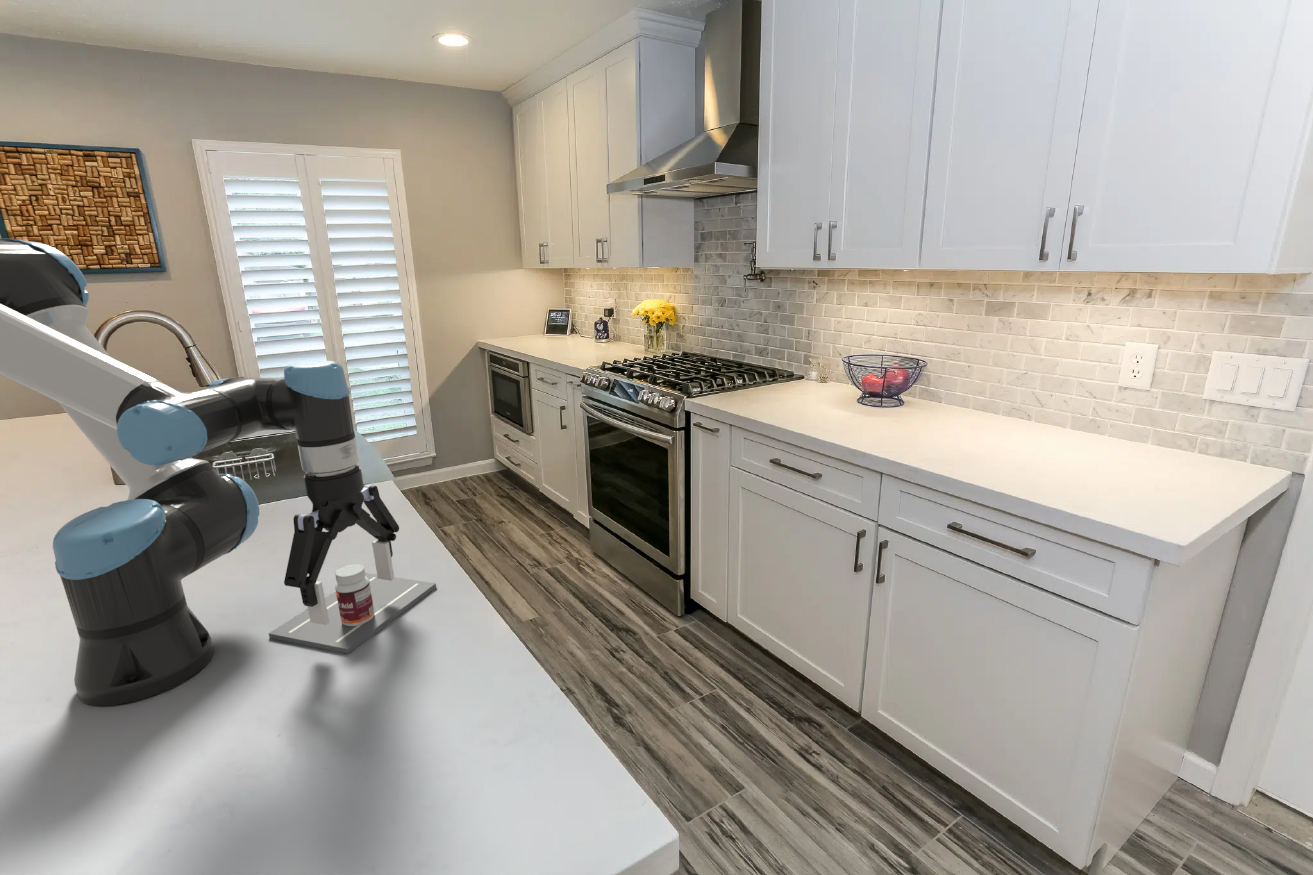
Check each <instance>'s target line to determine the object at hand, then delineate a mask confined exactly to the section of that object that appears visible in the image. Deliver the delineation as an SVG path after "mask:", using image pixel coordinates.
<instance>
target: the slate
mask: <svg viewBox="0 0 1313 875" xmlns="http://www.w3.org/2000/svg"><path fill="white" fill-rule="evenodd" d="M365 576H366V577H367V578H368V579H369V582H370V589H371V595H372V601H373V607H374V617H373V618H372V619H371V620H370V621H368V622H366V623H364V624H362V625H358V626H345V625H344V624H342V622H341V617H340V612H339V606H338V601H337V596H336V591H334V592H333V593H331V594H329V595H328V596H325V602H326V607H327V612H328V617H329V623H328V624H326V625H322V624H316V623H311V621H310V616H309V611H308V608H307V609H305V610H303V611H302V612H301V613H298V614H297V615H295V616H294V617H293V618H290V620H287V621H286V622H284V623H283V624H281V625H279V626H278V627H276V628H275V629H273V630H271V631H270V632H269V633H268V638H269V639H272V640H278V641H283V642H289V643H293V644H298V645H303V646H307V647H312V648H316V649H317V648H318V649H323V650H326V651H331V652H338V653H342V654H347V655H348V654H350V653H352V652H353V651H355V650H356V649H357V648H358V647H360V646H361V645H363V644H364V643H365V642H366V641H368V640H370V638H372V637H374V635H376V634H377V633H379V631H381V630H383V629H384V628H385V627H386V626H388V625H389V624H391V623H392V622H393V621H394V620H395V619H397V618H399V616H401V615H402V614H403V613H405V612H406V611H407V610H408V609H410V608H412V607H413V606H414V605H416V603H419V601H421V600H422V599H423V598H425V597H426V596H427V595H429V594H430V593H431V592H433V591H434V590H435V589H436V588H437V584H436V582H430V581H422V580H415V579H408V578H401V577H396V576H394V579H393V580H392V581H389V580H383V579H378V577H377V573H375V574H374V573H371V572H365Z"/></svg>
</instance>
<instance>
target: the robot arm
mask: <svg viewBox="0 0 1313 875" xmlns="http://www.w3.org/2000/svg"><path fill="white" fill-rule="evenodd" d="M87 286H88V283H87V280H86V278H85V276H84V274H83V272H82V271H81V270H80V268H79V267H78V266H77V264H76V263H75V262H74V261H73V260H72V259H71V258H70V257H68V255H66V254H64V253H63V252H62V251H60V250H58V249H57V248H55V247H53V246H51V245H48V244H45V243H42V242H37V241H30V240H29V241H28V240H22V239H17V238H7V237H6V238H0V375H1V376H3V377H5V378H8V379H10V380H11V381H13V382H15V383H18V384H20V385H22V386H24V387H27V388H28V389H30V390H33V391H34V392H37V393H39V394H40V395H43V396H45V397H47V398H49V399H51V400H54V401H55V402H57V403H58V404H59V405H60V406H61V408H62V409H63V410H64V411H65V412H66V414H67V415H68V416H69V417H70V418H71V419H72V421H73V422H74V423H75V425H77V428H79V429H80V431H81V432H82V433H83V434H84V436H85V437H86V438H87V439H88V441H89V442H90V443H92V445H93V446H94V447H95V449H96V451H97V452H99V454H100V455H101V456H102V457H103V458H104V460H105V461H106V462H107V463H108V464H109V466H110V467H111V468H112V470H114V472H115V473H116V474H117V475H118V477H119V478H120V480H122V481H123V483H124V484H125V486H127V488H128V489H129V494H128V498H127V500H122V501H118V502H113V503H111V504H110V505H108V506H99V507H97V508H94V509H91V510H90V511H87V512H84V513H82V514H80V515H78V516H75V517H74V518H73V519H71V520H70V521H68V522H67V523H65V524H64V525H62V527H61V528H59V530H58V531H57V532H56V534H55V535H54V537H53V540H52V541H53V542H52V550H53V555H54V560H55V562H54V566H55V567H54V568H55V570H56V572H57V574H58V575H59V577H60V579H61V580H60V581H61V582H62V585H63V588H64V592H65V595H66V599H67V602H68V605H69V608H70V611H71V616H72V617H73V621H74V625H75V627H76V631H77V634H78V637H79V638H78V639H79V644H78V651H77V658H76V666H75V673H74V680H73V681H74V686H75V690H76V693H77V696H78V699H79V700H80V701H81V702H82V703H84V704H87V705H90V706H99V707H107V706H118V705H124V704H129V703H133V702H137V701H141V700H143V699H147V698H150V697H153V696H155V695H158V694H160V693H163V692H165V691H168V690H170V689H172V688H175V687H176V686H178V685H180V684H183V683H184V682H186V681H187V680H188V679H189V680H190V678H192V677H193V676H195V675H196V674H198V673H199V672H200V671H202V670H203V669H204V668H205V667H206V666H207V665H208V664H209V663H210V661H211V660H212V658H213V657H214V654H215V648H214V647H215V646H214V644H213V641H212V640H213V639H212V637H211V634H210V633H209V631H208V630H207V628H205V626H204V625H203V624H202V622H201V621H200V620H199V618H198V617H197V616H196V615H195V614H194V612H193V611H192V610H191V608H190V607H189V606H188V603H187V600H186V599H187V598H186V596H185V592H184V587H183V584H182V580H183V579H184V578H186V577H188V576H190V575H191V574H193V573H195V572H196V571H198V570H200V569H202V568H203V567H205V566H207V565H208V564H210V563H212V562H214V561H215V560H217V559H218V558H220V557H222V556H225V555H226V554H229V553H231V552H232V551H234V550H236V549H237V548H238V547H239V546H240V545H241V544H244V543H245V542H246V541H247V540H248V539H250V538H251V537H252V536H253V534H254V533H255V531H256V530H257V527H258V525H259V517H260V514H261V513H260V505H259V501H258V498H257V496H256V494H255V491H254V490H253V488H252V487H251V486H250V485H249V484H248V483H247V482H246V481H245V480H244V479H242V478H241V477H239V476H233V475H234V474H230V473H218V472H217V470H216V469H215V468H214V467H213V466H212V464H211V463H210V462H209V461H208V460H204V459H198V458H193V457H195V456H197V455H198V454H201V453H203V452H206V451H209V450H211V449H214V448H216V447H218V446H222V445H225V444H229V443H231V442H233V441H237V440H239V439H242V438H244V437H247V436H249V435H252V434H255V433H257V432H262V431H293V430H294V434H295V440H296V443H297V448H298V454H299V455H298V456H299V460H300V465H301V471H303V472H305V474H304V476H303V480H304V486H305V491H306V492H305V493H306V497H307V498H308V499H309V501H310V502H311V504H312V510H311V512H309V513H306V514H301V513H298V514H295V515H294V516H293V519H292V520H293V529H294V533H293V537H292V542H291V543H292V544H291V547H290V552H289V557H288V561H287V565H286V566H287V567H286V572H285V576H284V580H283V585H284V586H287V587H290V588H291V587H292V588H296V589H297V588H298V589H299V590H300V596H301V599H302V604H303V605H304V606H305V607H307V609H308V611H309V616H310V621H311V623H316V624H322V625H326V624H328V623H329V617H328V612H327V607H326V602H325V598H326V596H325V592H324V587H323V582H322V581H318V578H319V575H320V572H321V570H322V568H323V565H324V563H325V560H326V558H327V555H328V553H329V549H330V547H331V544H332V542H333V541H335V539H336V538H337V536H338V534H339V533H341V532H344V531H345V530H346V529H347V528H348V527H349V528H350V527H353V526H355V525H357V526H359V528H362V529H363V531H365V532H366V533H368V534H369V535H370V536H372V537H373V538H375V539H376V540H374V541H372V542H371V546H372V552H373V558H374V563H375V569H376V574H377V577H378V579H383V580H389V581H392V580H393V579H394V577H395V573H394V568H393V561H392V557H393V555H394V554H393V553H394V552H393V548H392V542H394V541H396V539H397V534H396V533H398V532H399V531H400V526H399V524H398V522H397V521H396V520H395V518H394V516H393V515H392V514H391V511H390V510H389V509H388V507H387V505H386V504H385V503H384V501H383V500H382V498H381V497H380V496H381V495H380V493H379V488H378V486H377V485H367V484H364V480H363V474H362V468H361V466H359V465H358V463H359V462H360V457H359V450H358V445H357V444H358V443H357V438H356V434H355V433H356V432H355V429H354V422H353V417H352V416H353V415H352V409H351V400H350V389H349V387H348V384H347V380H346V375H345V370H344V367H343V366H342V364H341V363H339V362H337V361H334V360H316V361H315V360H314V361H313V360H312V361H310V360H309V361H302V362H301V361H300V362H296V363H291V364H289V365H286V366H285V368H284V370H283V377H245V376H235V377H231V378H230V377H228V378H220V379H216V380H213V381H212V382H211V383H209V384H208V386H207V387H206V388H202V389H197V390H193V391H189V392H188V391H187V392H186V391H183V390H181V389H178V388H176V387H174V386H172V385H169V384H167V383H165V382H163V381H161V380H159V379H156V378H155V377H153V376H150V375H148V374H146V373H144V372H142V371H140V370H139V369H137V368H134V367H133V366H130V365H128V364H126V363H124V362H122V361H120V360H117V359H116V358H114V357H112V356H110V354H109V353H108V352H107V350H105V348H104V346H102V345H101V343H100V342H99V341H98V339H97V338H96V337H95V336H94V334H93V333H92V332H91V331H90V329H89V328H88V327H87V325H88V324H87V323H88V321H89V318H90V316H91V313H90V311H89V310H88V308H87V307H88V303H89V300H90V299H89V297H90V294H89V291H87V290H86V288H87ZM85 287H86V288H85ZM363 505H365V507H366V508H367V509H368V511H369V512H370V513H369V512H367V510H365V509H363V507H362V506H363ZM371 515H372V516H373V517H371ZM323 529H324V530H325V531H323Z"/></svg>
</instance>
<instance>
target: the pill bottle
mask: <svg viewBox="0 0 1313 875" xmlns="http://www.w3.org/2000/svg"><path fill="white" fill-rule="evenodd" d="M365 573H366V570H365V567H364V565H362V564H358V563H357V564H355V563H354V564H349V565H346V566H342V567H341V568H339V569H337V570H336V571H335V581H336V584H335V588H334V589H335V590H334V591H335V592H336V596H337V601H338V606H339V612H340V617H341V622H342V624H344V625H345V626H358V625H362V624H364V623H366V622H368V621H370V620H371V619H372V618H373V617H374V607H373V601H372V595H371V589H370V582H369V579H368V578H367V577H366V576H365Z"/></svg>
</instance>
